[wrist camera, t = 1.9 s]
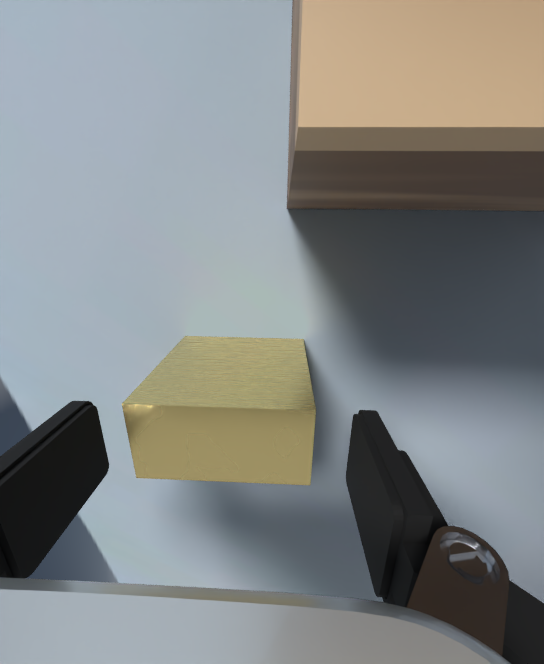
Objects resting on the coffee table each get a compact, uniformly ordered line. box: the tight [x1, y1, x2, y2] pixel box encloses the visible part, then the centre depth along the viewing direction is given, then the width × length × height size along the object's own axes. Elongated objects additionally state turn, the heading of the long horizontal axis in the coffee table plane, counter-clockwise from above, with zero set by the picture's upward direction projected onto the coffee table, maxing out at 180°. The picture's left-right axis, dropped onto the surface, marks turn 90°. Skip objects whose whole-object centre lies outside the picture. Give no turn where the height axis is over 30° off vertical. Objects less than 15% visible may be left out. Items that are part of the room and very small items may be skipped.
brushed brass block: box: [122, 336, 316, 485], centre depth 12 cm, size 3×6×6 cm, turn 89°
